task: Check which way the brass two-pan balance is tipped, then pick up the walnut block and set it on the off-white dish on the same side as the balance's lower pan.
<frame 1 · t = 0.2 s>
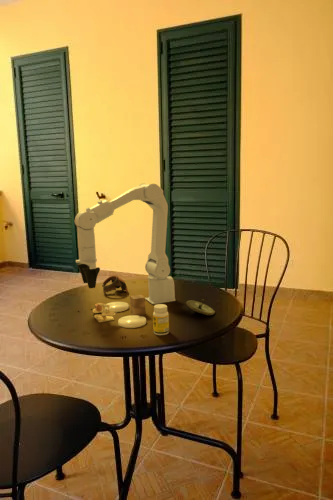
hand: (89, 285, 142), 10 cm above the table, tool pointing down, fingers open, 7 cm apart
dish low side: (116, 308, 147), on the table
lid: (200, 313, 140), on the table
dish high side: (132, 322, 132), on the table
balance: (104, 318, 137), on the table
brown segmented ring: (116, 293, 168), on the table
block: (138, 313, 141), on the table
supplement bottle: (161, 333, 123), on the table
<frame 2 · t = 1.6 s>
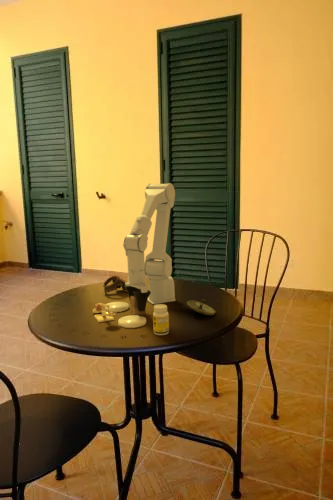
hand: (137, 307, 141), 2 cm above the table, tool pointing down, fingers open, 7 cm apart
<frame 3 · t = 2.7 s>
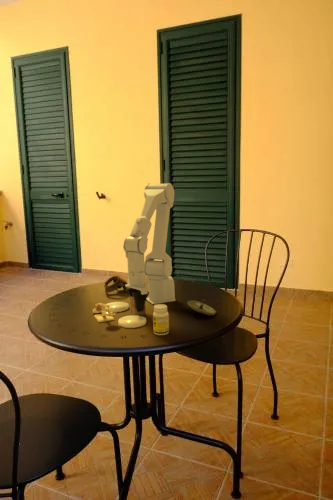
hand: (137, 309, 141), 1 cm above the table, tool pointing down, fingers closed on block, 4 cm apart
block: (138, 313, 141), on the table, touching gripper
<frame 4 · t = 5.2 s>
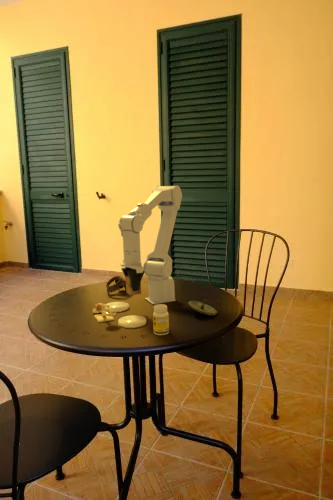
hand: (133, 289, 141), 8 cm above the table, tool pointing down, fingers closed on block, 4 cm apart
block: (133, 293, 141), point 7 cm above the table, touching gripper
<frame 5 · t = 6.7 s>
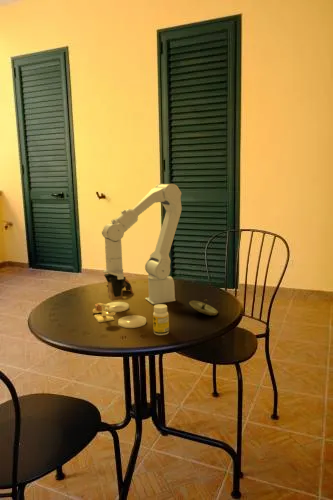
hand: (115, 294, 146), 5 cm above the table, tool pointing down, fingers closed on block, 4 cm apart
block: (115, 298, 147), point 4 cm above the table, touching gripper
when the fingers open (4 cm above the table, at t = 7.8 s): block drops 1 cm, resting on dish low side.
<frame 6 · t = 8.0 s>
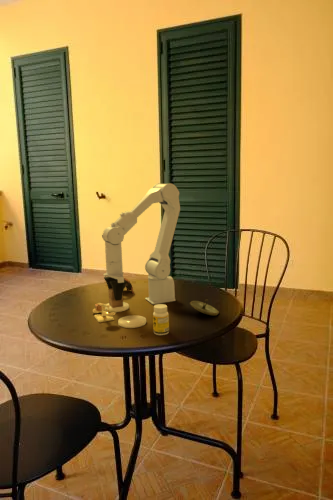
hand: (115, 297, 147), 4 cm above the table, tool pointing down, fingers open, 5 cm apart
block: (116, 305, 147), point 1 cm above the table, touching dish low side
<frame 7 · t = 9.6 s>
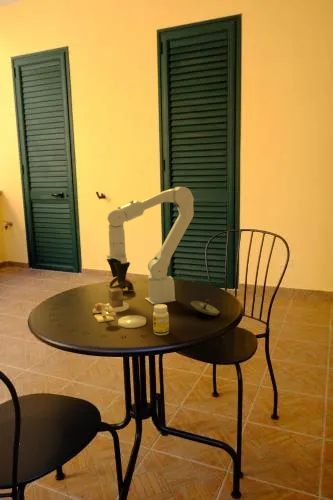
hand: (118, 278, 151), 9 cm above the table, tool pointing down, fingers open, 7 cm apart
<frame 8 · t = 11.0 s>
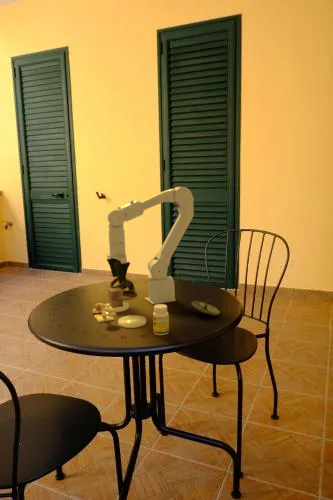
hand: (118, 278, 151), 9 cm above the table, tool pointing down, fingers open, 7 cm apart
at the end: block 0.0 cm off-centre on the dish low side, point 1.0 cm above the dish low side's base; block tilted 0°; the gripper is holding nothing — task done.
